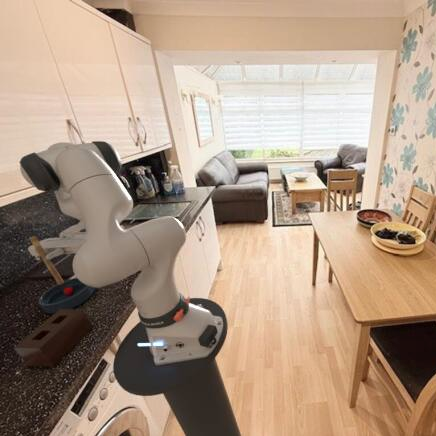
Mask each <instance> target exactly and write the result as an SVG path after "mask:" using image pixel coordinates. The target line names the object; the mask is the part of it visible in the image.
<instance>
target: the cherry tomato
mask: <svg viewBox="0 0 436 436" xmlns="http://www.w3.org/2000/svg"><path fill="white" fill-rule="evenodd" d="M73 292H74V289H73V288H72V287H68V288H66V289H65V290H64V294H65V295H71V294H72V293H73Z"/></svg>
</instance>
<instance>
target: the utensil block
mask: <svg viewBox="0 0 436 436" xmlns="http://www.w3.org/2000/svg"><path fill="white" fill-rule="evenodd" d="M93 328H94V326H93V324H92V322H91V321H90V319H89V317H88V315H87V314H86V312H85V311H84V310H83V308H82V309H80V308H79V309H77V308H76V309H75V308H73V309H60V310H59V311H57V312H56V313H55V314H52V315H51V316H50V317H49V318H47V319H46V320H45V321H44V322H43V323H41V324H40V325H39V326H38V327H37V328H35V329H34V330H33V331H32V332H31V333H30V334H28V335H27V336H26V337H24V338H23V339H22V340H21V341H20V342H18V343H17V344H16V345H15V346H14V347H13V349H14V351H15V352H17V354H18V355H19V356H20V357H21V359H23V361H24V362H25V363H26V364H27V365H28V366H29V367H41V368H42V367H47V368H50V367H51V368H55V367H56V366H57V365H58V364H59V363H60V362H61V361H62V360H63V359H64V358H65V357H66V356H67V355H68V353H69V352H71V350H72V349H73V348H74V347H76V345H77V344H78V343H79V342H80V341H81V340H82V339H83V338H84V337H85V336H86V335H87V334H88V333H89V332H90V331H91V330H92V329H93Z"/></svg>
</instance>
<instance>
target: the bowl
mask: <svg viewBox="0 0 436 436" xmlns="http://www.w3.org/2000/svg"><path fill="white" fill-rule="evenodd" d="M63 281H64V283H63V284H61V285H59V284H58V283H57V284H55V285H53V286H52V287H50V288H49V289H47V290H46V291H45V292H43V294H41V295H40V296H39V299H38V304H39V306H40V307H41V309H42V311H44V313H47V314H52V315H54V314H55V313H56V312H57V311H59V310H60V309H75V308H77V307H79V306H81V305H82V304H84V303H85V302H86V301H88V300H89V299H90V298H91V296H92V295H93V293H94V292H95V290H96V288H94V287H90V286H87V285H85V284H84V283H82V282H81V281H79V280H78V279H77V278H73V279H70V280H66V279H65V280H63ZM68 287H72V288H73V289H74V292H73V293H72V294H71V295H65V294H64V290H65V289H66V288H68Z"/></svg>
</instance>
